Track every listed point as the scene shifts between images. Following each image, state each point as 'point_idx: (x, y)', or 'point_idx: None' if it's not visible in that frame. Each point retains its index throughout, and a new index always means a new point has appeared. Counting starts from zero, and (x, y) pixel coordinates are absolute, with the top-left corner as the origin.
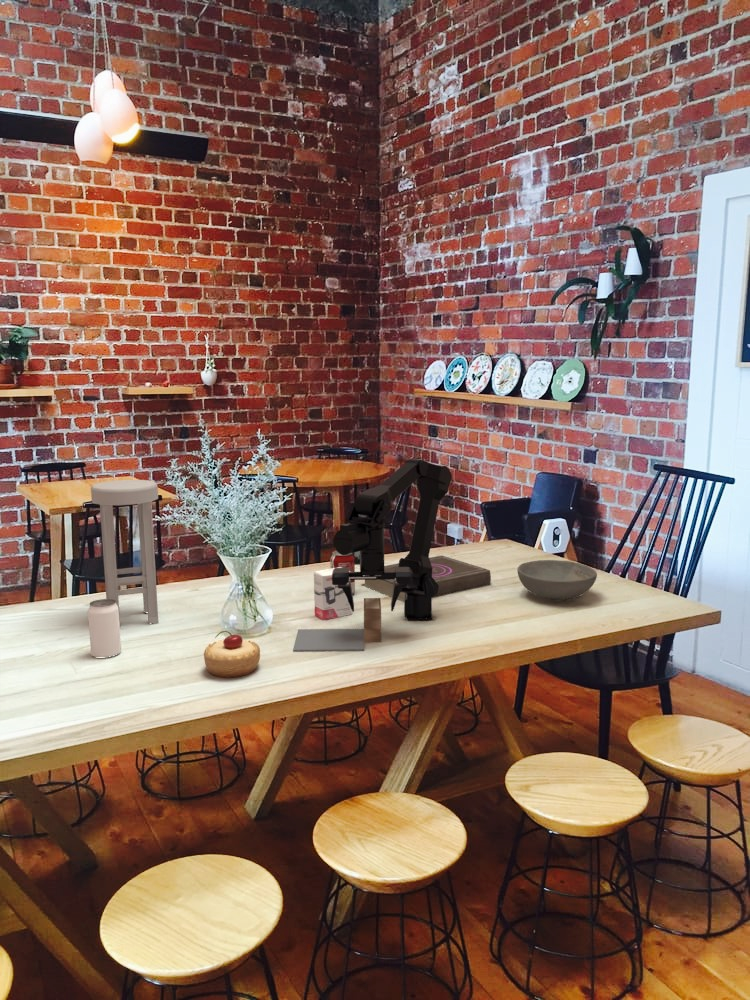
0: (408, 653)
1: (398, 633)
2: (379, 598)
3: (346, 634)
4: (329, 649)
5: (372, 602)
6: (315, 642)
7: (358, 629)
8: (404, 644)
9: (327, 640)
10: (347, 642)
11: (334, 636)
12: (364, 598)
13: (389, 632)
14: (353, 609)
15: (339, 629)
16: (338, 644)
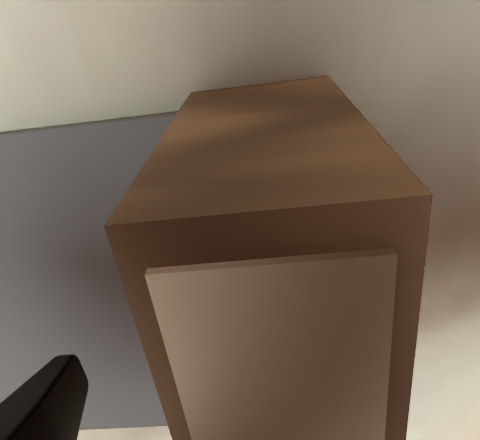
0: (466, 429)
1: (468, 160)
2: (410, 224)
3: (94, 245)
4: (81, 428)
5: (288, 429)
6: None
7: (151, 139)
8: (469, 337)
9: (19, 336)
10: (141, 358)
11: (31, 281)
12: (119, 240)
13: (399, 143)
14: (78, 417)
15: (5, 150)
16: (102, 380)
